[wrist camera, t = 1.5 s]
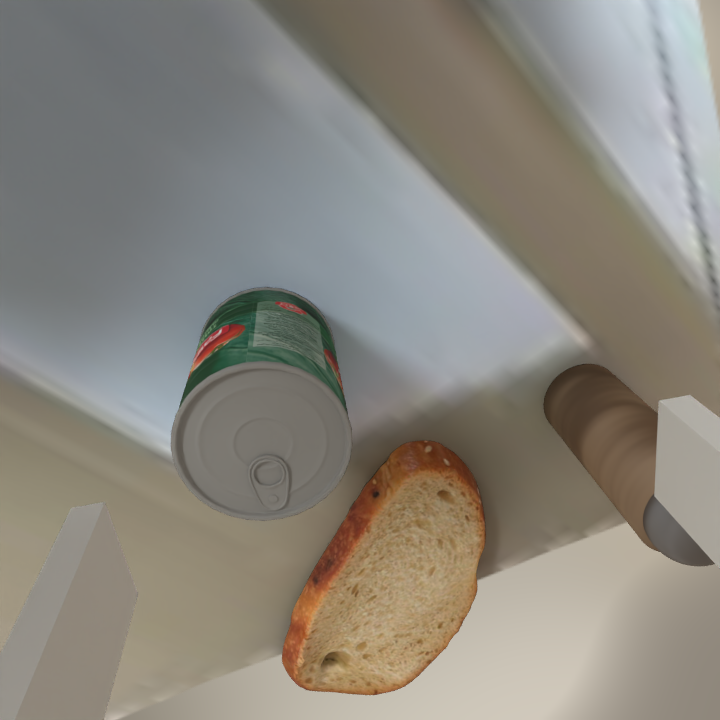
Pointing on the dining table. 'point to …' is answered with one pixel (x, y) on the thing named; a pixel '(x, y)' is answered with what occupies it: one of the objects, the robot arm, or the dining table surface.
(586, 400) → the walnut pepper mill
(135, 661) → the dining table surface
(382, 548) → the bread slice
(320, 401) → the canned tomato
